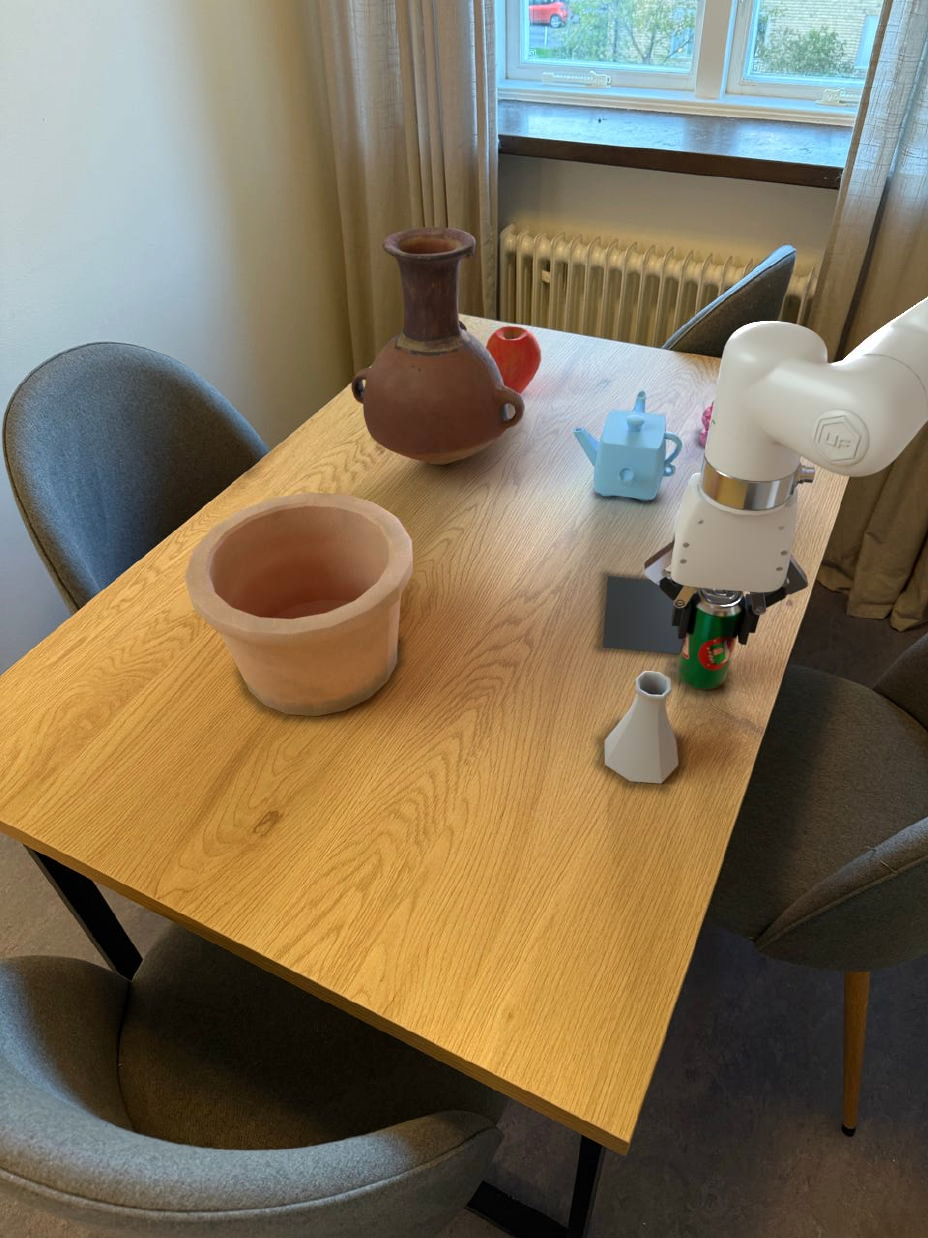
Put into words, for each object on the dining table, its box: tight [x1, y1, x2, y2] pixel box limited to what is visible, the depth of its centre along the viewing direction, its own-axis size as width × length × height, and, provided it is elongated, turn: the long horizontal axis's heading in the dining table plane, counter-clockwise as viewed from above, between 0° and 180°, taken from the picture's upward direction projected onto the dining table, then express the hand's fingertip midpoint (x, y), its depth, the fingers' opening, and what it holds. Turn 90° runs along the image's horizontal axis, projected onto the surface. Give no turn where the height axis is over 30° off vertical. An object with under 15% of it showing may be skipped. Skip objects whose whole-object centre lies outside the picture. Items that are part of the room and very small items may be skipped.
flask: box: [604, 670, 679, 784], centre depth 76 cm, size 7×7×10 cm
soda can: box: [676, 587, 746, 691], centre depth 83 cm, size 5×5×12 cm
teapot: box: [572, 390, 683, 502], centre depth 110 cm, size 18×14×10 cm
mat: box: [602, 575, 682, 656], centre depth 94 cm, size 12×12×1 cm
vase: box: [350, 226, 525, 466], centre depth 109 cm, size 25×20×30 cm
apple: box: [485, 325, 542, 395], centre depth 129 cm, size 9×8×11 cm
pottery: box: [184, 492, 414, 717], centre depth 86 cm, size 22×22×14 cm
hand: (711, 630), depth 82 cm, fingers closed on soda can, 5 cm apart
